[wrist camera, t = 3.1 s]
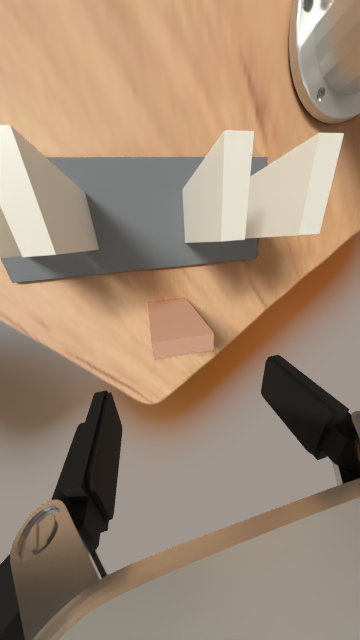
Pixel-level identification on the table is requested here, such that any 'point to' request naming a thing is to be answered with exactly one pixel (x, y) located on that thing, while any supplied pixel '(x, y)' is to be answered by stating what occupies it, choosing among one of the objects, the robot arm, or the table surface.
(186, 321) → the tile
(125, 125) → the table surface
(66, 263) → the slate mat
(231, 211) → the tile
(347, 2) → the robot arm
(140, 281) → the table surface
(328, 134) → the tile
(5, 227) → the tile
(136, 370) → the table surface
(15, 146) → the tile
